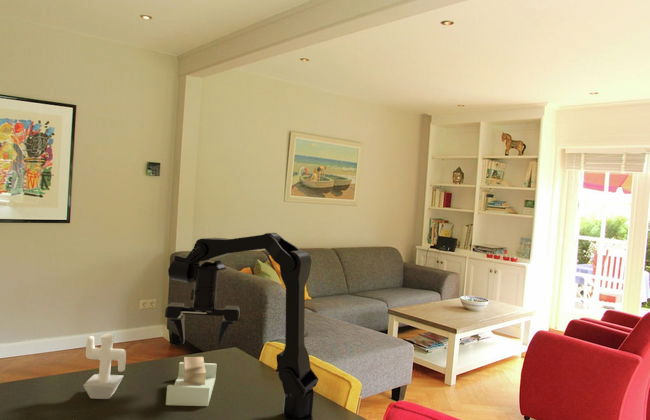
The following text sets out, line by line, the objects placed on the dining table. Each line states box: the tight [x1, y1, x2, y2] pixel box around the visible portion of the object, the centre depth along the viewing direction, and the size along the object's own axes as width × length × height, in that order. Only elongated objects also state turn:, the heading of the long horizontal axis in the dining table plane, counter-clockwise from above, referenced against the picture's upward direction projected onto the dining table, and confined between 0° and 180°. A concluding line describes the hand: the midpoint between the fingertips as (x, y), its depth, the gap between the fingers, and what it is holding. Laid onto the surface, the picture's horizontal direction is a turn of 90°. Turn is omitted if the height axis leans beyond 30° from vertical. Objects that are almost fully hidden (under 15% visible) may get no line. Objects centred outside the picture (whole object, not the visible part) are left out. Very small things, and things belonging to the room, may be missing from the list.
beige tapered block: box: [183, 356, 206, 386], centre depth 124 cm, size 5×12×3 cm, turn 17°
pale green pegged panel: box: [165, 361, 217, 407], centre depth 124 cm, size 10×17×4 cm, turn 7°
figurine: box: [83, 332, 127, 400], centre depth 117 cm, size 7×9×15 cm
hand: (201, 343), depth 126 cm, fingers open, 9 cm apart
